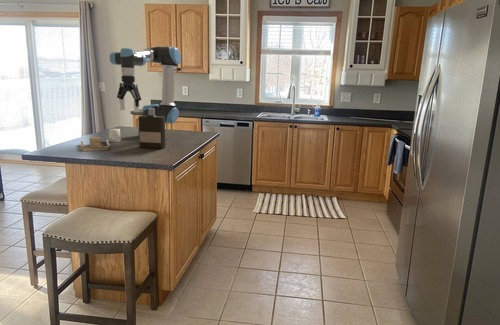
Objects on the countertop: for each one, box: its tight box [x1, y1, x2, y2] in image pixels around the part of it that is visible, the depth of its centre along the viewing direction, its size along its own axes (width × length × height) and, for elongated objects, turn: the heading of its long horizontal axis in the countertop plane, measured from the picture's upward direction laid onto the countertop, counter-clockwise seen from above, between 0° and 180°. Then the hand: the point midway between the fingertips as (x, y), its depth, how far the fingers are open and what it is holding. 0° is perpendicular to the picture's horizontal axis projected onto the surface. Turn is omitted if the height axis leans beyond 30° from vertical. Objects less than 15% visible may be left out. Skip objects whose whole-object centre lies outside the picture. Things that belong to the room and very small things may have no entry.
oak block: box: [89, 136, 101, 147], centre depth 229 cm, size 6×6×5 cm
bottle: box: [137, 108, 166, 150], centre depth 228 cm, size 8×16×25 cm, turn 88°
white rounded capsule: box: [108, 128, 122, 143], centre depth 244 cm, size 7×7×8 cm
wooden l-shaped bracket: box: [80, 139, 111, 152], centre depth 225 cm, size 20×16×2 cm
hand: (129, 111), depth 219 cm, fingers open, 13 cm apart
